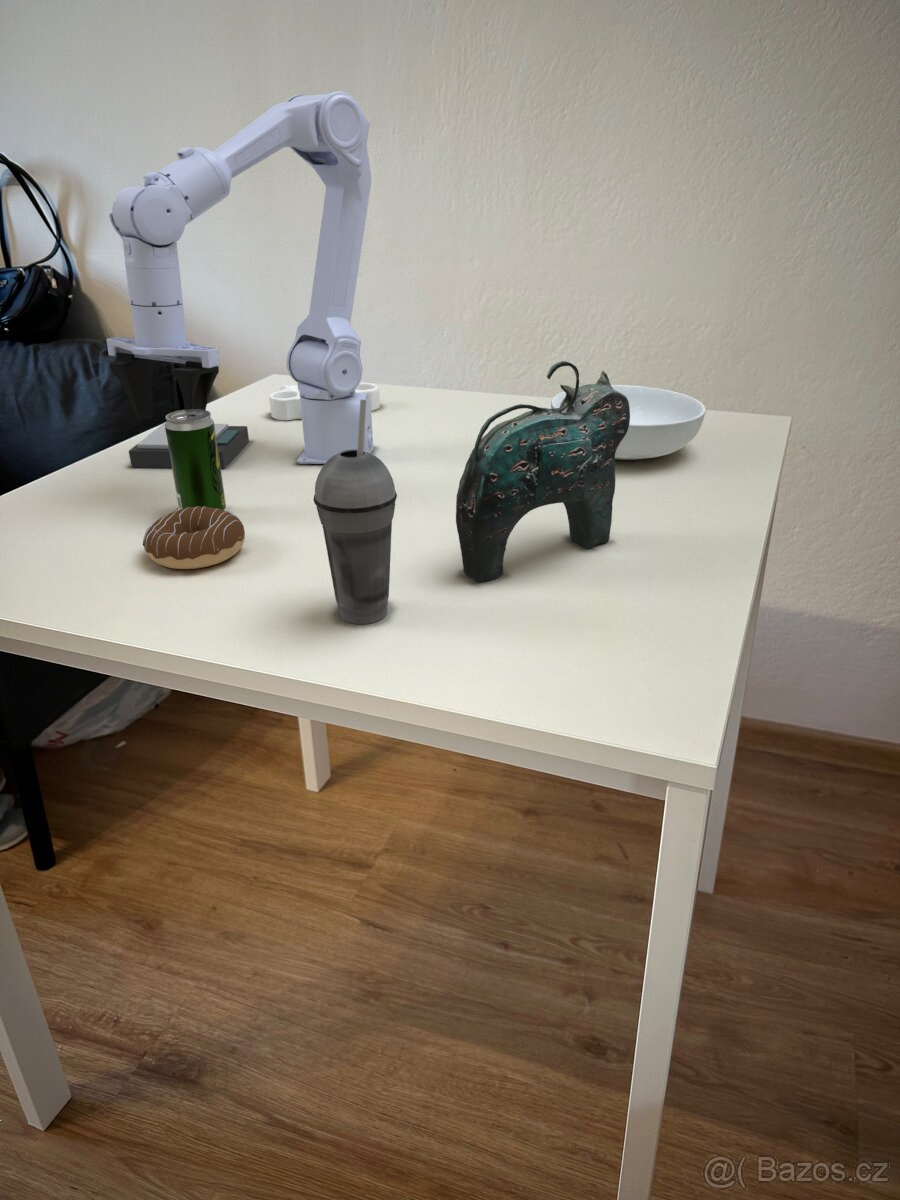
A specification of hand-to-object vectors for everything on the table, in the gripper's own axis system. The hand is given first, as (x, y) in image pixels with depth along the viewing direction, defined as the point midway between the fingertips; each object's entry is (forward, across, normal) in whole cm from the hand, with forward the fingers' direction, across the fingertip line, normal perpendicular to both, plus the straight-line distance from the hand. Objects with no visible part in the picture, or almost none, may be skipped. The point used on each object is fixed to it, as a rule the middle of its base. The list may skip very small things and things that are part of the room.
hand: (170, 422), depth 103 cm
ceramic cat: (+8, +48, 0) cm, 48 cm away
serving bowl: (+7, +47, +38) cm, 61 cm away
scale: (+9, -9, +14) cm, 19 cm away
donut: (+10, +13, -13) cm, 21 cm away
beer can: (+10, +6, -4) cm, 12 cm away
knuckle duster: (+8, -4, +42) cm, 42 cm away
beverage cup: (+10, +36, -18) cm, 41 cm away
